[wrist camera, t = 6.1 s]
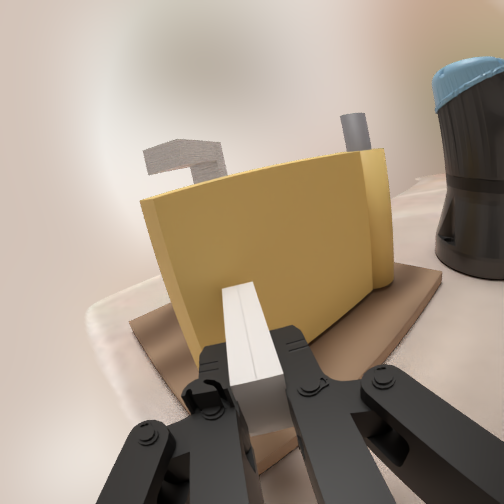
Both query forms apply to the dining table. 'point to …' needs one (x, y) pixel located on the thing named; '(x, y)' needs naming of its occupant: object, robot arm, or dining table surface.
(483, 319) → the dining table surface
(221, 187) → the hinged door
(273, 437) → the board
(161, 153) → the hook
